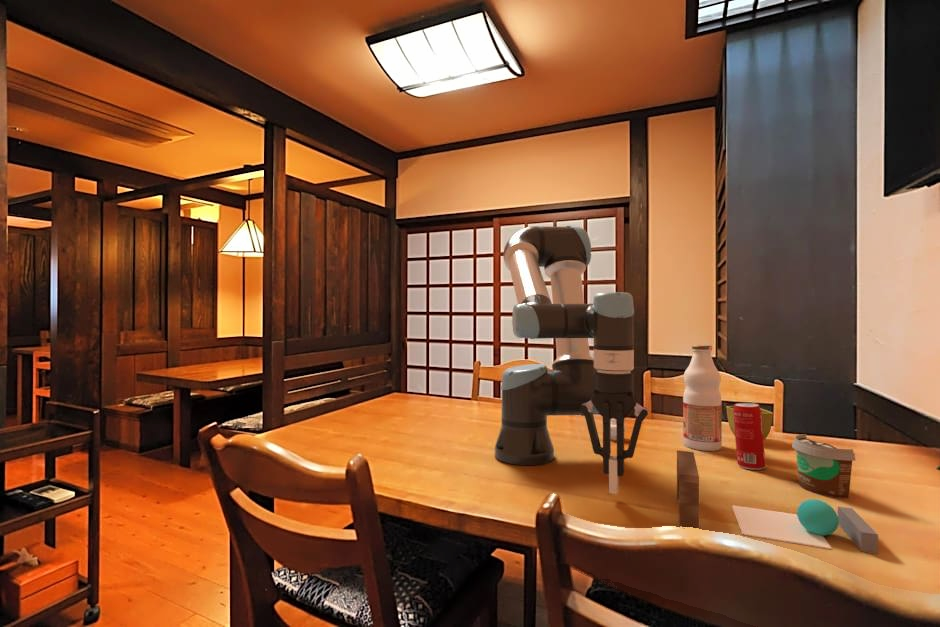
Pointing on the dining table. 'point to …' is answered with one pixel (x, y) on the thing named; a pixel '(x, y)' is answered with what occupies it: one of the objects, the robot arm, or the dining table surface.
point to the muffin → (614, 429)
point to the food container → (823, 467)
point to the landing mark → (776, 527)
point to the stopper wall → (858, 530)
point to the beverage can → (749, 436)
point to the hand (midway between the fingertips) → (613, 491)
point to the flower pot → (766, 420)
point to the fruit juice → (702, 402)
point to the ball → (817, 517)
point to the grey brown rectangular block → (687, 489)
